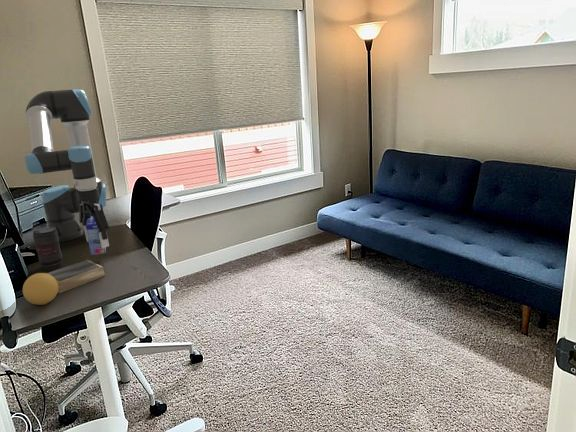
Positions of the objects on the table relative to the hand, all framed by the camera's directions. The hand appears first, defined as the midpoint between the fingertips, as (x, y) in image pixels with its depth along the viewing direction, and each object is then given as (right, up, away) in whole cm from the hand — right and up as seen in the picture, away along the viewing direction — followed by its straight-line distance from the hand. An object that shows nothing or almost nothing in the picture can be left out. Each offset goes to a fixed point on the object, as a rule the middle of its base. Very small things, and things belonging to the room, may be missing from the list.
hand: (97, 243), depth 169 cm
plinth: (-2, -12, -13) cm, 18 cm away
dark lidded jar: (-18, -9, +1) cm, 20 cm away
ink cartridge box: (0, -3, +1) cm, 3 cm away
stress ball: (-4, -17, -29) cm, 34 cm away
